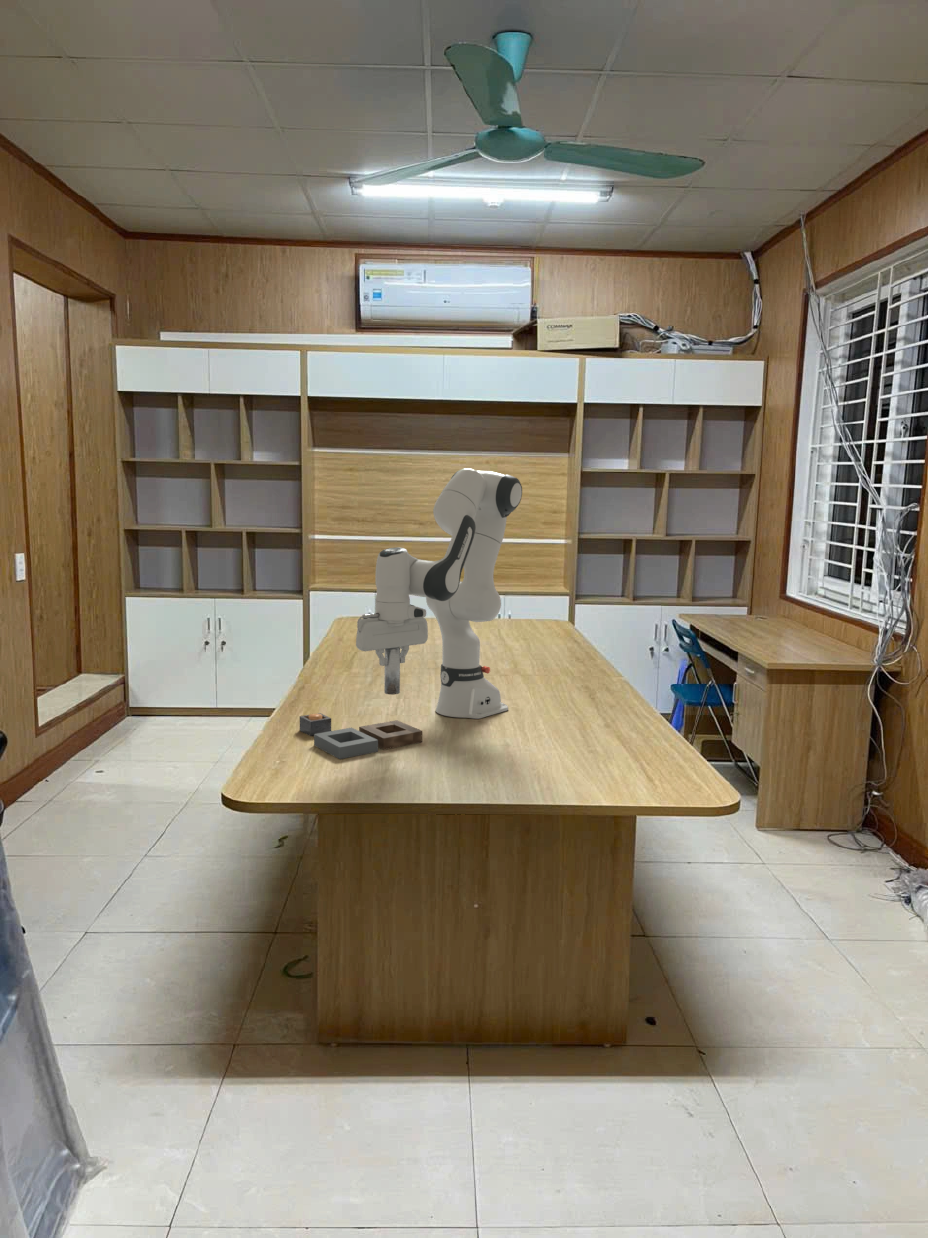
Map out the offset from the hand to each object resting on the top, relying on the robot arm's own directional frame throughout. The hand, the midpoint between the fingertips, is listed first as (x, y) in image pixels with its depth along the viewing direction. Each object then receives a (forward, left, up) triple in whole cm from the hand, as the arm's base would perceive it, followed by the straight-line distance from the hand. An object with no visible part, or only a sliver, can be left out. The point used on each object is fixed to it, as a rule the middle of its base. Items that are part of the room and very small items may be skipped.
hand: (392, 664), depth 220 cm
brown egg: (+13, -17, -19) cm, 29 cm away
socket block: (0, 0, -20) cm, 20 cm away
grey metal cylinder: (0, 0, -8) cm, 8 cm away
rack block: (+14, 0, -20) cm, 24 cm away
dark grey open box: (+13, -17, -20) cm, 30 cm away
